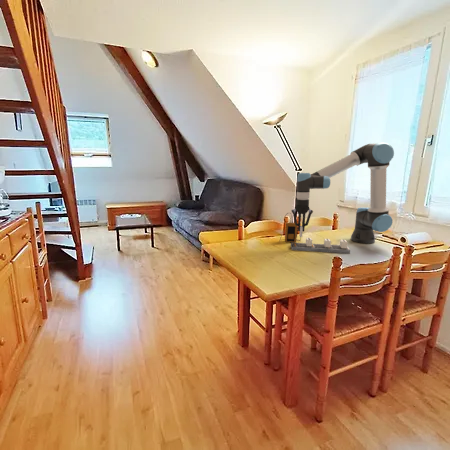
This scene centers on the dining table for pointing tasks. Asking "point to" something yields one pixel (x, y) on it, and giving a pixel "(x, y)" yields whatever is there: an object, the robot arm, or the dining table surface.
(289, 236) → the multimeter
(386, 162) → the robot arm
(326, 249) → the panel
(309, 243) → the breaker
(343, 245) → the breaker
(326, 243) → the block
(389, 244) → the dining table surface
